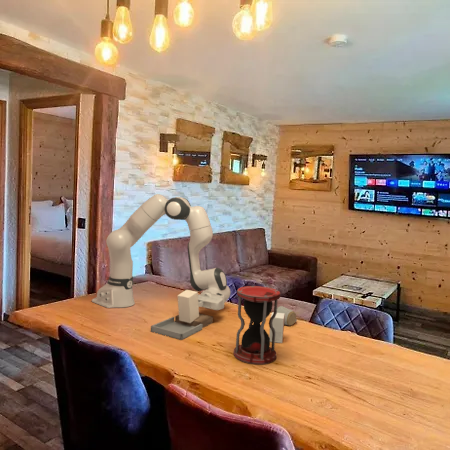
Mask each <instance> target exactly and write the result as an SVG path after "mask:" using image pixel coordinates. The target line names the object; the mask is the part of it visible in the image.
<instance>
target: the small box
mask: <svg viewBox="0 0 450 450" xmlns="http://www.w3.org/2000/svg"><path fill="white" fill-rule="evenodd" d="M273 313H274V311H271V315H270V318H271V317H272V316H273ZM270 318H269V319H270ZM284 319H285V313H277V314H276V316H275V318H274V319H273V322H272V326H273V328H274V329H275V343H278V344H283V340H284V330H285V324H284ZM268 335H269V338H270V343H272V330H271V328H270V327H269V333H268Z"/></svg>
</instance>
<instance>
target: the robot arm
mask: <svg viewBox="0 0 450 450" xmlns="http://www.w3.org/2000/svg"><path fill="white" fill-rule="evenodd" d="M165 215H166V216H167V217H168V218H169V219H171V220H174V221H175V220H177V221H178V220H179V221H180V220H181V221H185V222H186V224H187V226H188V230H189V235H190V236H189V241H188V243H187V255H188V266H189V281H190V282H189V283H190V286H191V287H192V288H193V290H194V291H196V292H201V291H202V292H201V293H200V294H198V306H199V307H200V308H205V309H208V310H209V309H210V310H213V311H219V310H223V309H224V308H225V302H226V301H227V300H228V299H230V296H231V288H230V287H229V286H228V280H227V275H226V274H225V272H224V271H223V270H222V269H221V268H219V267H215V268H209V269H204V270H202V269H201V264H200V263H201V262H200V253H201V250H203V248H205V247H206V246H208V244H210V242H212V239H213V235H214V234H213V231H214V230H213V228H212V225H211V224H212V223H211V221H210V218H209V215H208V213H207V210H205V208H204V207H203V206H199V205H195V206H192V205H191V203H190V201H189V200H188V199H186V198H185V197H183V196H175V197H171V198H169V199H167V198H166V197H165V196H164V195H162V194H160V193H157V194H154V195H152V196H151V197H149V198H148V199H147V200H146V201H144V202H143V203H142V204H141V205H140V206H139V207H138V208H137V209H136V210H135V211H134V212H133V213H132V214H131V215H130V216H129V218H128V219H127V220H126V221H125V222H124V223H123V225H122V226H121V227H120V228H118V229H114V230H113V231H111V232H110V233H109V234H108V236H107V237H106V240H105V241H106V242H105V243H106V246H107V248H108V254H109V260H110V266H109V267H110V269H109V272H110V275H109V276H108V277H107V276H106V278H105V280H106V281H107V282H106V283H105V284H104V285H103V286H101V287H100V288H98V290H97V291H96V297H94V298H91V302H92V303H94V304H97V305H99V306H101V307H104V308H107V309H109V308H110V309H111V308H128V307H131V306H134V305H135V303H136V302H135V299H134V291H133V290H134V289H133V284H134V276H133V268H134V267H133V266H134V261H133V259H132V253H131V249H132V247H134V245H136V243H137V242H138V241H140V239H141V238H142V237H143V236H144V235H145V234H146V232H147V231H148V230H150V228H152V227H153V225H154V224H156V223H157V222H158V221H159V220H160V218H162V217H163V216H165Z"/></svg>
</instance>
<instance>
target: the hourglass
mask: <svg viewBox="0 0 450 450" xmlns="http://www.w3.org/2000/svg"><path fill="white" fill-rule="evenodd" d="M236 294H237V296H238V302H237V303H238V304H237V317H238V319H239V320H240V327H239V329H238V330H237V331H236V340H235V347H234V348H233V356H234V358H236V360H238V361H240V362H243V363H247V364H251V365H266V364H270V363H273V362H274V361H275V360H276V359H277V352H276V350H275V344H276V342H275V329H274V328H273V326H272V322H273V319H274V318H275V316H276V314H277V308H278V300H279V299H281V292H280V290H277V289H275V288H272V287H267V286H259V285H248V286H246V285H245V286H241V287H239V288H238V289H237V290H236ZM242 300H243V309H244V312H245V314H246V316H247V317H248V318H249V324H248V328H247V329H246V330H245V331H244V328H245V324H246V323H245V319H244V318H243V316H242ZM273 302H274V303H273ZM273 304H274V305H273ZM272 310H273V312H274V313H273V316H272V317H271V316H270V314H272ZM269 316H270V317H271V318H269V321H268V327H269V329H270V328H271V330H272V342H270V338H269V333H268V332H267V331H266V330H265V324H266V321H267V318H268V317H269ZM242 331H244V333H243V334H242V337H241V342H240V336H241V332H242ZM240 343H241V344H240Z"/></svg>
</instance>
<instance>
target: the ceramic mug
mask: <svg viewBox="0 0 450 450" xmlns="http://www.w3.org/2000/svg"><path fill="white" fill-rule="evenodd" d="M277 313H285V319H284V326H290V327H291V326H292V325H294V324H295V323H297V321H298V319H297V313H296V312H295V311H294V310H292V309H290V308H287V307H285V306H283V305H280V306H277Z"/></svg>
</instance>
